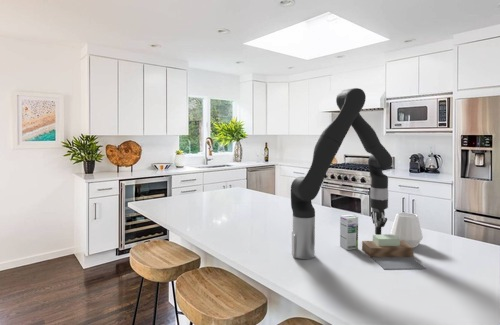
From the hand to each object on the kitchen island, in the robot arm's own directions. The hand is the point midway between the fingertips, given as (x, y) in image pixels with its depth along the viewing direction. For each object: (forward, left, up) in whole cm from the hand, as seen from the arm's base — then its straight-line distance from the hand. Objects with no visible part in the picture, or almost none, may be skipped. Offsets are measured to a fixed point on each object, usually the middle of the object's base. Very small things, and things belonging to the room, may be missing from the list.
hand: (378, 234), depth 144 cm
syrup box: (-14, -2, -5) cm, 15 cm away
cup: (+14, +2, -5) cm, 15 cm away
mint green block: (0, -9, 0) cm, 9 cm away
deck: (0, -10, -5) cm, 11 cm away
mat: (0, -20, -5) cm, 21 cm away
